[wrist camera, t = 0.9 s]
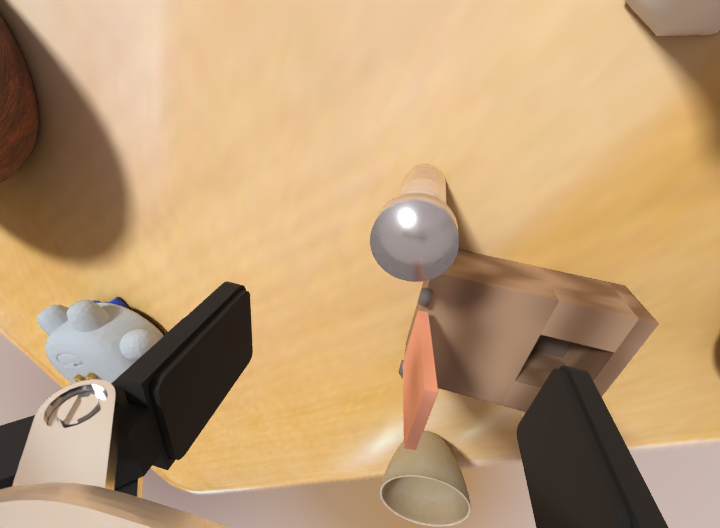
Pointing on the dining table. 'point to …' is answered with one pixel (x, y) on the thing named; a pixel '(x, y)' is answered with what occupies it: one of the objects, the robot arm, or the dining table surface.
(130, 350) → the figurine
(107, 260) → the dining table surface
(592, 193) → the dining table surface
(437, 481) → the beige bowl
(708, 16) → the flask
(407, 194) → the pin
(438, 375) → the block
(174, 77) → the dining table surface
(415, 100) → the dining table surface
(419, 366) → the plate
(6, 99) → the wooden bowl
